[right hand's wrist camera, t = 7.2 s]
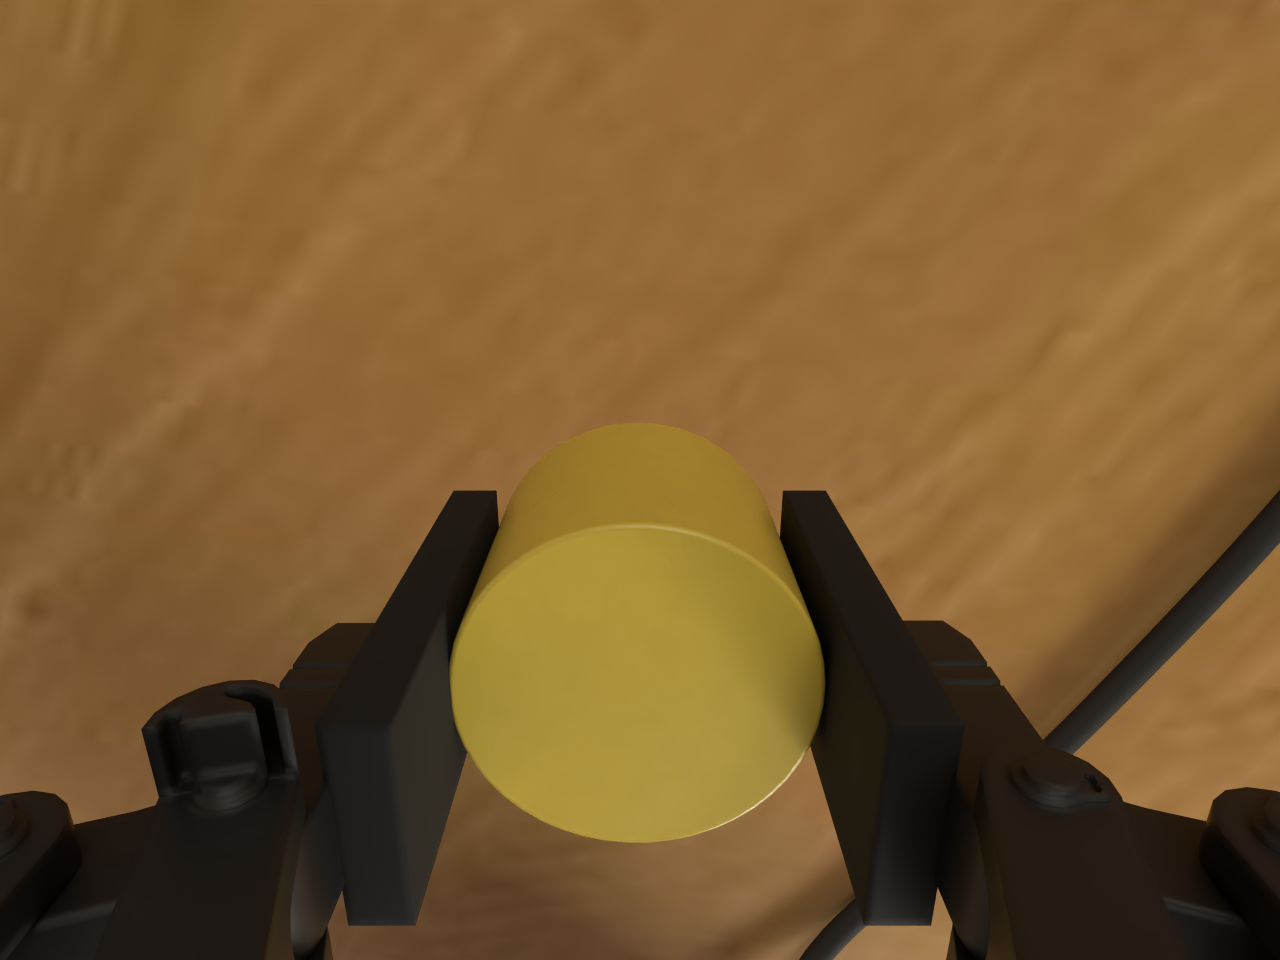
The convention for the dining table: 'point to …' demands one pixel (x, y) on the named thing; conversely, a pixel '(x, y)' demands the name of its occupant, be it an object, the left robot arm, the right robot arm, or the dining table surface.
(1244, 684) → the dining table surface
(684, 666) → the cylinder
